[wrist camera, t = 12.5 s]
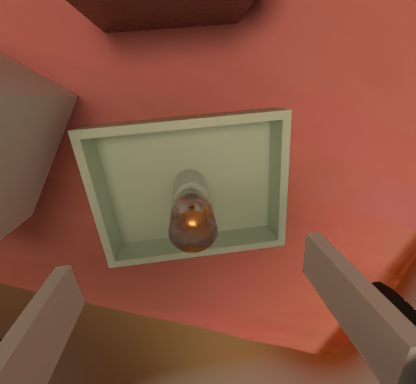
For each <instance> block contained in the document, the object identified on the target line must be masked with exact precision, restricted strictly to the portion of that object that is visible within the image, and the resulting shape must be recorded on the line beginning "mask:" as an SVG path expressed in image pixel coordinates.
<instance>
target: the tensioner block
mask: <svg viewBox="0 0 416 384" xmlns="http://www.w3.org/2000/svg"><path fill="white" fill-rule="evenodd" d="M66 1H67V2H69V3H70V4H71V5H72V6H73V7H75V8H76V9H77V10H78V11H79V12H81V13H82V14H83V15H84V16H85V17H87V18H88V19H89V20H90V21H91V22H93V23H94V24H95V25H96V26H97V27H99V28H100V29H101V30H102V31H103V32H105V33H107V32H121V31H135V30H149V29H163V28H176V27H190V26H204V25H218V24H232V23H238V22H239V20H240V19H241V18H242V16H243V15H244V13H245V12H246V11H247V9H248V8H249V7H250V5H251V4H252V2H253V1H254V0H66Z"/></svg>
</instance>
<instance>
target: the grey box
mask: <svg viewBox="0 0 416 384" xmlns="http://www.w3.org/2000/svg"><path fill="white" fill-rule="evenodd" d="M77 98H78V95H76V94H74V93H72V92H70V91H69V90H67V89H65V88H63V87H61V86H60V85H58V84H56V83H54V82H52V81H51V80H49V79H47V78H45V77H43V76H41V75H40V74H38V73H36V72H34V71H32V70H31V69H29V68H27V67H25V66H23V65H22V64H20V63H18V62H16V61H14V60H12V59H11V58H9V57H7V56H5V55H3V54H2V53H0V240H1V239H3V238H4V237H5V236H7V235H8V234H9V233H10V232H12V231H13V230H14V229H16V228H17V227H18V226H19V225H21V224H22V223H23V222H25V221H26V220H27V219H28V218H30V217H31V216H32V215H33V213H34V210H35V207H36V205H37V202H38V200H39V197H40V194H41V192H42V189H43V187H44V184H45V181H46V179H47V176H48V174H49V171H50V168H51V166H52V163H53V161H54V158H55V156H56V153H57V150H58V148H59V145H60V143H61V140H62V137H63V135H64V132H65V130H66V127H67V124H68V122H69V119H70V117H71V114H72V111H73V109H74V106H75V104H76V101H77Z"/></svg>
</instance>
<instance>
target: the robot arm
mask: <svg viewBox="0 0 416 384" xmlns="http://www.w3.org/2000/svg"><path fill="white" fill-rule="evenodd" d="M303 273H304V274H305V275H306V277H307V278H308V280H309V281H310V283H311V284H312V285H313V287H314V288H315V290H316V291H317V293H318V294H319V296H320V297H321V298H322V300H323V301H324V303H325V304H326V306H327V307H328V309H329V310H330V311H331V313H332V314H333V316H334V317H335V319H336V320H337V321H338V323H339V324H340V326H341V327H342V329H343V330H344V332H345V333H346V334H347V336H348V337H349V339H350V340H351V342H352V343H353V344H354V346H355V347H356V349H357V350H358V352H359V353H360V355H361V356H362V357H363V359H364V360H365V362H366V363H367V365H368V366H369V368H370V369H371V370H372V372H373V373H374V375H375V376H376V378H377V379H378V381H379V382H380V383H381V384H416V310H414V309H413V307H412V306H411V305H409V303H407V302H405V301H404V299H403V298H402V297H401V296H400V295H399V294H398V293H396V292H395V291H394V290H393V289H391V288H390V287H388V286H386V285H385V284H383V283H381V282H373V283H371V282H370V281H369V280H368V279H367V278H366V277H365V276H364V275H363V274H362V273H361V272H360V271H359V270H358V269H356V268H355V267H354V266H353V265H352V264H351V263H350V262H349V261H348V260H347V259H346V258H345V257H344V256H343V255H342V254H341V253H340V252H339V251H338V250H337V249H336V248H335V247H334V246H333V245H332V244H331V243H330V242H329V241H328V240H327V239H326V238H325V237H324V236H323V235H322V234H321V233H320V232H314V233H306V242H305V252H304V263H303ZM84 304H85V301H84V299H83V296H82V294H81V291H80V288H79V286H78V283H77V281H76V278H75V275H74V273H73V270H72V268H71V265H65V266H58V267H55V268H54V270H53V271H52V272H51V274H50V275H49V277H48V278H47V279H46V281H45V282H44V283H43V285H42V286H41V287H40V289H39V290H38V291H37V293H36V294H35V296H34V297H33V298H32V300H31V301H30V302H29V304H28V305H27V307H26V308H25V309H24V311H23V312H22V313H21V315H20V316H19V317H18V319H17V320H16V321H15V323H14V324H13V326H12V327H11V328H10V330H9V331H8V332H7V334H6V335H5V336H4V338H3V339H0V384H47V383H48V381H49V379H50V377H51V375H52V372H53V371H54V368H55V366H56V364H57V362H58V360H59V357H60V356H61V353H62V351H63V349H64V347H65V344H66V343H67V340H68V338H69V336H70V334H71V332H72V330H73V327H74V325H75V323H76V321H77V319H78V316H79V315H80V313H81V310H82V308H83V306H84Z"/></svg>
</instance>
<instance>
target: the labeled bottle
mask: <svg viewBox="0 0 416 384" xmlns="http://www.w3.org/2000/svg"><path fill="white" fill-rule="evenodd" d="M168 234H169V239H170V241H171V243H172V244H173V245H174V246H175V247H176V248H177V249H179V250H181V251H183V252H187V253H197V252H201V251H204V250H206V249H208V248H209V247H210V246H211V245H212V244H213V243H214V242H215V240H216V238H217V234H218V228H217V224H216V220H215V216H214V212H213V208H212V204H211V200H210V196H209V192H208V188H207V185H206V181H205V178H204V176H203V175H202V174H201V173H200V172H198V171H196V170H193V169H188V170H184V171H182V172H180V173H179V174H178V175H177V176H176V178H175V180H174V187H173V196H172V204H171V213H170V222H169V232H168Z"/></svg>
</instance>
